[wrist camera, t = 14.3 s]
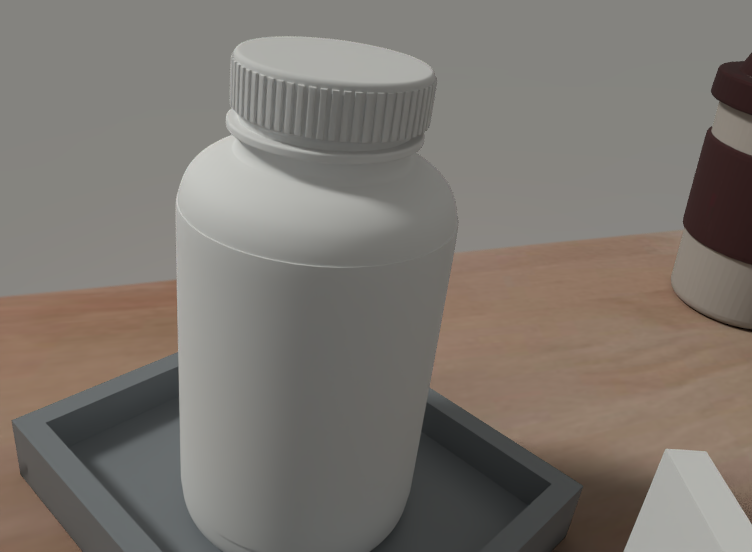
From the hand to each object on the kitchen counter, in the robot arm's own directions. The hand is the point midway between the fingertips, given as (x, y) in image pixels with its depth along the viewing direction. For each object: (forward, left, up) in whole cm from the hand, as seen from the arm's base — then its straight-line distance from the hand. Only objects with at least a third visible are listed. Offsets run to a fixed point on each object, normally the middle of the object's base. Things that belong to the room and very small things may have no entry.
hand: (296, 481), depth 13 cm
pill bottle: (-7, +7, -10) cm, 13 cm away
